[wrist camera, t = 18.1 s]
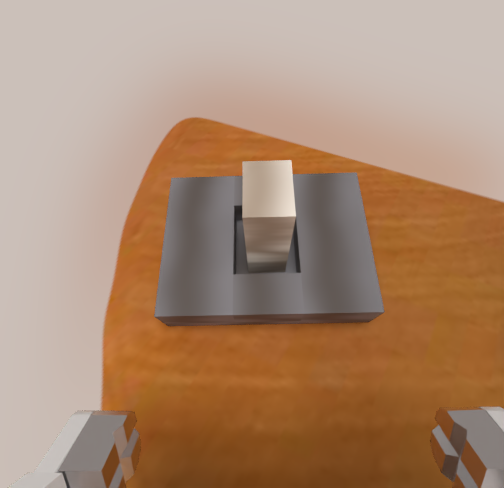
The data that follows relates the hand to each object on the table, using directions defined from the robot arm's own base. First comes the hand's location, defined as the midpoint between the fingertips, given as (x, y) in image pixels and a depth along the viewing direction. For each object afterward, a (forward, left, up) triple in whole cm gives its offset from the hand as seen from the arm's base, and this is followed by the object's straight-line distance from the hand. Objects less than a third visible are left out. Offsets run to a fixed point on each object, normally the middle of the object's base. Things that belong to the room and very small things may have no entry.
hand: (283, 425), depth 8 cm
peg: (0, -12, -14) cm, 18 cm away
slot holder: (0, -12, -15) cm, 19 cm away
